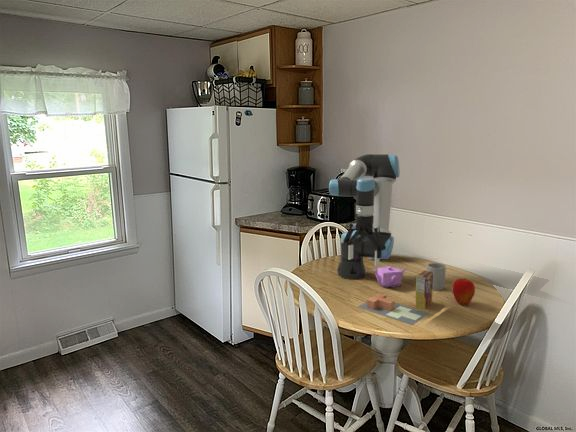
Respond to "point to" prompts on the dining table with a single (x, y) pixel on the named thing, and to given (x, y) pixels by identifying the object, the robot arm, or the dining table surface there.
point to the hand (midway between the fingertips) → (363, 262)
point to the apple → (463, 291)
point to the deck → (399, 313)
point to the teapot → (389, 276)
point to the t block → (380, 302)
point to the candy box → (424, 289)
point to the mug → (437, 275)
